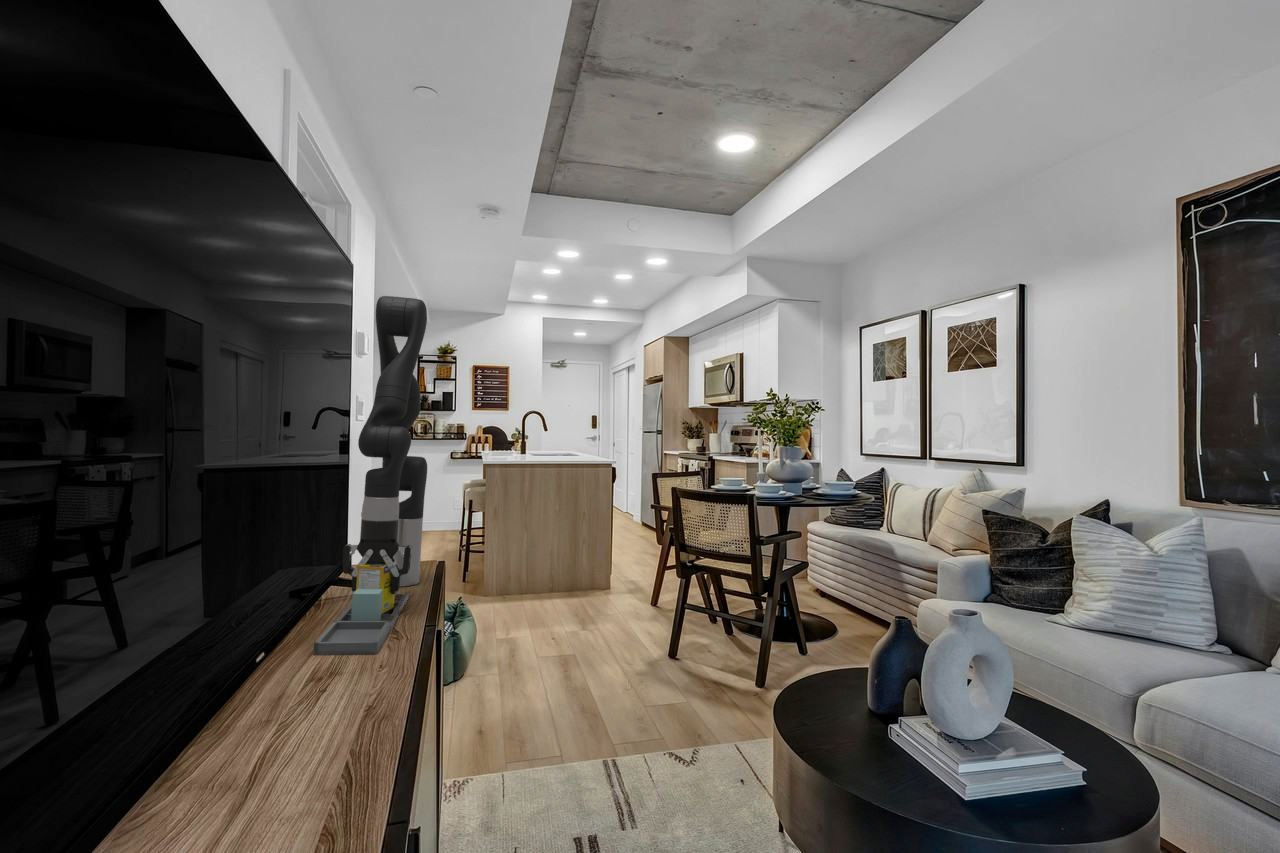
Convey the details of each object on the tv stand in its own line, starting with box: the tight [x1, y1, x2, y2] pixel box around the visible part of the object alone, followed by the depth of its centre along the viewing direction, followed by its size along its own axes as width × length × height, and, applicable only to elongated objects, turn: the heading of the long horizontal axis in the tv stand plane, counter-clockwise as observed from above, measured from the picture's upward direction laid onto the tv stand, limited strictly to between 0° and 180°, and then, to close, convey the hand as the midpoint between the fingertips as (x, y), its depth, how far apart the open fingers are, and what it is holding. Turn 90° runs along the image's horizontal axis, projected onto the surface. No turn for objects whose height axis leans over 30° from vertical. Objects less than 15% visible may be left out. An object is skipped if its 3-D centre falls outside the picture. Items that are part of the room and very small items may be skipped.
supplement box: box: [356, 563, 396, 614], centre depth 139 cm, size 6×6×11 cm
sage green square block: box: [351, 589, 383, 621], centre depth 130 cm, size 4×5×7 cm
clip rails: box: [335, 592, 410, 631], centre depth 138 cm, size 25×11×2 cm, turn 12°
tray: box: [312, 620, 391, 656], centre depth 120 cm, size 14×10×2 cm
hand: (375, 593), depth 138 cm, fingers closed on supplement box, 7 cm apart
